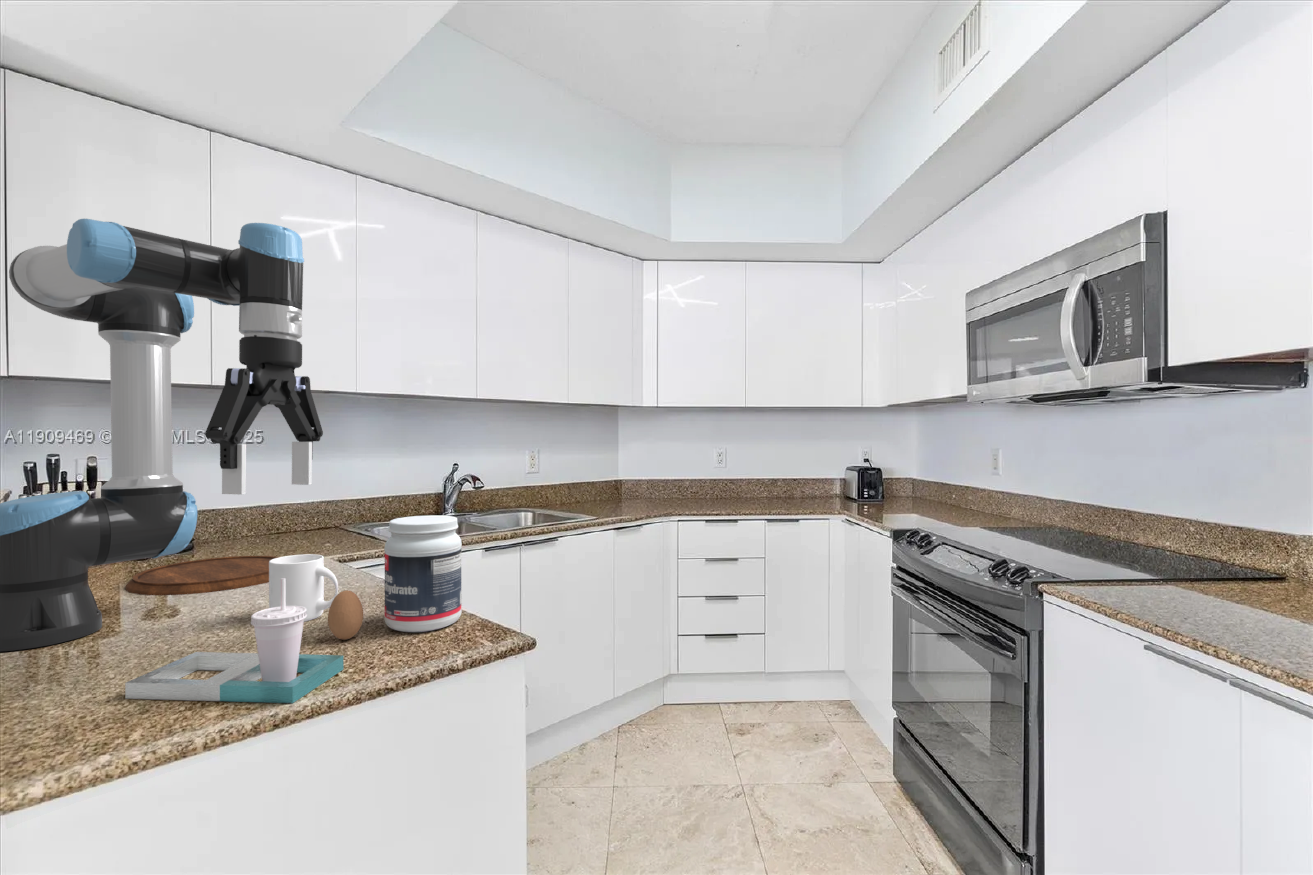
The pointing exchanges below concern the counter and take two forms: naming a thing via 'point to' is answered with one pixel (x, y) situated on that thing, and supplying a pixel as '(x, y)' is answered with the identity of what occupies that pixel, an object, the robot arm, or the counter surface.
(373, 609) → the counter surface
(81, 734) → the counter surface
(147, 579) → the cutting board
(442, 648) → the counter surface
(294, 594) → the mug
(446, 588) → the supplement tub
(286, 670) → the smoothie
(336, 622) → the egg
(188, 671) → the rail
